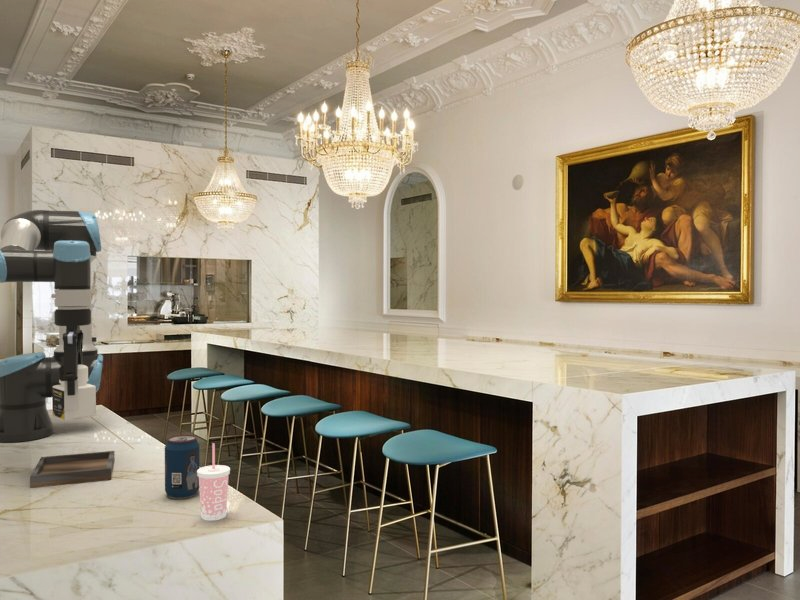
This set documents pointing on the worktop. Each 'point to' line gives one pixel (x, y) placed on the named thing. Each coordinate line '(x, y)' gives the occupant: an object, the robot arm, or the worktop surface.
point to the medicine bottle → (85, 397)
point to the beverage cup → (213, 489)
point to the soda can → (182, 466)
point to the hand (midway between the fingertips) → (74, 405)
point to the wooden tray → (73, 469)
